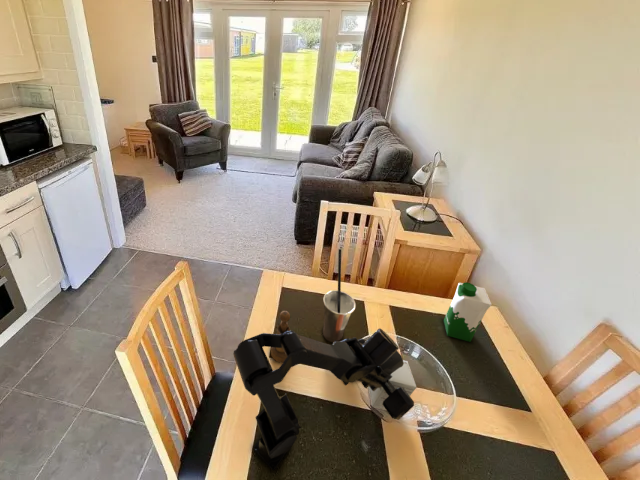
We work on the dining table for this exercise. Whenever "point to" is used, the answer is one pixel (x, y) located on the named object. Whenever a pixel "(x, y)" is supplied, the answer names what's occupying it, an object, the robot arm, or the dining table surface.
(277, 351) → the wooden pepper mill
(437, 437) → the dining table surface
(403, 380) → the white packaging box
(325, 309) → the steel tumbler with straw
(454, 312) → the milk carton
